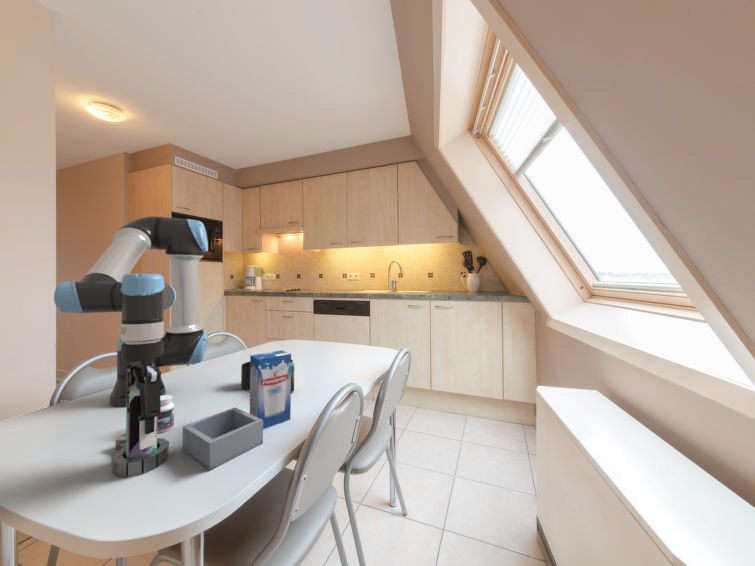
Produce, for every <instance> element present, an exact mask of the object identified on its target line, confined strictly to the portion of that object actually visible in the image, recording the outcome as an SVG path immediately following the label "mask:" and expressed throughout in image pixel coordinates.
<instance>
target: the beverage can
mask: <svg viewBox="0 0 755 566" xmlns="http://www.w3.org/2000/svg"><path fill="white" fill-rule="evenodd" d="M294 391H295V363H294V361H293V359H291V394H292V393H293V392H294Z"/></svg>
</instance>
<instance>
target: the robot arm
mask: <svg viewBox="0 0 755 566" xmlns="http://www.w3.org/2000/svg"><path fill="white" fill-rule="evenodd" d="M208 243H209V241H208V235H207V231H206V227H205V225H204V223H203V222H202V221H200V220H197V219H190V218H182V217H181V218H178V217H168V216H167V217H164V216H156V215H155V216H154V215H153V216H152V215H151V216H144V217H140V218H137V219H134V220H132V221H130V222H127V223H126V224H124V225H122V226H120V228H118V230H117V231H116V232H115V234H114V235H113V242H112V243H111V244H110V245H109V246H108V248H107V249H106V250H105V251H104V252H103V254H102V255H101V256H100V257H99V258H98V259H97V261H96V262H95V263H94V264H93V266H91V268H90V269H89V270H88V272H86V274H85V275H84V276H83V277H82V278H81V279H80V280H78V281H76V280H72V281H63V282H60V283H59V284H58V285H57V286H56V287H55V289H54V293H53V301H54V304H55V307H56V309H57V310H58V311H60V312H62V313H66V314H67V313H69V314H71V313H72V314H94V313H121V328H118V329H117V331H118V333H119V334H120V335H121V337H120V338H119V339H118V341H117V349H116V381H115V384H114V386H113V388H112V390H111V393H110V395H109V405H110V406H111V407H118V408H119V407H121V408H122V407H123V408H124V407H126V403H127V388H129V387H130V386H132V385H134V384H135V383H136V388H137V389H139V390H140V404H141V414H142V418H139V419H138V422H139V421H140V437H139V449H140V450H142V449H144V448H147V447H150V446H152V445H155V444H156V416H159V415H160V414H161V408H160V396H162V395H166V386H165V384H164V381H163V378H162V372H161V370H160V368H161V367H172V366H173V367H174V366H184V365H188V366H189V365H196V364H199V363H201V362H202V361H203V360H204V358H205V355H206V351H207V344H208V337H209V333H208V332H207V331H204V326H202V325H201V324H200V323H199V321H200V320H199V316H200V315H199V313H200V312H199V310H200V308H199V302H200V301H199V300H200V299H199V291H200V290H199V288H200V286H199V263H200V260H201V259H202V258H203V257H204V253H207V252H208V250H209V246H208V245H209V244H208ZM150 250H159V251H164V252H165V256H166V257H167V258H168V259H169V260H170V284H168V283H165V281H164V280H165V279H164V276H163V275H162V274H159V273H131V272H132V270H133V269H134V267H135V266H136V265H137V262H138V261H139V259H140V258H141V257H142V255H144V254H146V253H148V252H149V251H150ZM169 308H170V326H169V327H167V328H166V329H165V320H164V314H165V313H164V310H167V309H169ZM141 383H145V384H141Z"/></svg>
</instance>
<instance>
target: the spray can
mask: <svg viewBox="0 0 755 566" xmlns="http://www.w3.org/2000/svg"><path fill="white" fill-rule="evenodd" d="M141 384H145V383H141ZM125 407H126V408H125V410H126V411H125V412H126V413H125V414H126V417H125V418H126V421H125V424H126V425H125V427H126V428H125V429H126V431H125V432H126V433H125V434H126V459H134V458H139V457H143V456H145V455H148V454H150V453H153V452H154V451H155V450H157V438H158V433H157V416H156V444H155V445H152V446H150V447H147V448H144V449H142V450H140V449H139V437H140V421H139V422H138V419H139V418H142V414H141V404H140V390H139V389H137V388H136V383H135V384H134V385H132V386H130V387H129V388H127V403H126V406H125Z"/></svg>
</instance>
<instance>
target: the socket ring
mask: <svg viewBox="0 0 755 566" xmlns="http://www.w3.org/2000/svg"><path fill="white" fill-rule="evenodd" d="M114 447H115V449H116V450H117V451H116V452H115V453H114V455H113V456H112V458H111V474H112V475H113V476H114V477H115V478H123V479H124V478H125V479H126V478H131V477H137V476H140V475H142V474H146V473H149V472H150V471H153V470H154V469H157V468H159V467H160V466H161V465H163V464H164V463H165V462H166V461H167V460H168V457H169V456H170V442H169V440H168V439H166V438H164V437H162V438H161V437H160V438H159V437H157V450H155V451H154V452H153V453H150V454H148V455H145V456H143V457H139V458H134V459H126V433H124V434H122V435H120V436H119V437H118V439H115V445H114Z"/></svg>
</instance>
